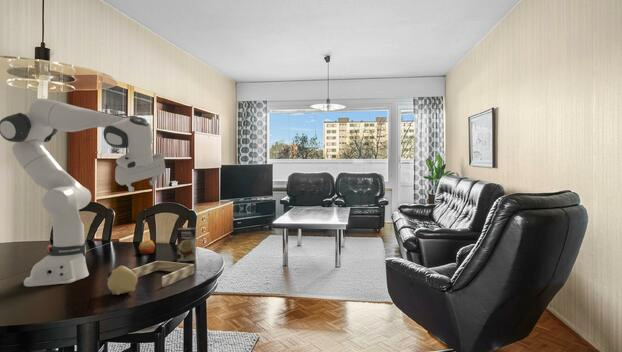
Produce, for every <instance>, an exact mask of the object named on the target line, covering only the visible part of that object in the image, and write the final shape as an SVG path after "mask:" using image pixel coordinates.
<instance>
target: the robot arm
mask: <svg viewBox="0 0 622 352" xmlns="http://www.w3.org/2000/svg"><path fill="white" fill-rule="evenodd" d="M151 125H152V124H151V123H150V121H148V119H145V118H143V117H141V116H140V117H139V116H137V115H129V116H123V115H119V114H114V113H109V112H105V111H99V110H94V109H90V108H85V107H80V106H77V105H73V104H69V103H65V102H61V101H58V100H54V99H46V98H39V99H35V100H34V101H33V102H32V103H31V105H30V106H29V111H28V112H25V113H23V112H18V113H13V114H10V115H8V116H5V117H3V118H1V119H0V135H1V137H2V138H3V139H4V140H6V141H8V142H12V143H14V144H13V145H12V147H11V150H12V153H13V155H14V158H15V159H16V160H17V162H18V163H19V165H20V167H22V169H23V170H24V172H26V173H27V175H28V176H29V178H31V180H32V181H33V182H34V183H35V184H36V185H37V186H39V187H41V188H43V189H44V190H45V191H47V192H46V193H45V194H44V195H43V197H42V199H41V201H42V202H41V203H42V206H43V208H44V209H45V210H46V211H47V213H48V215H49V217H50V221H51V224H52V235H53V236H52V237H53V239H52V240H53V241H52V242H53V243H52V244H51V245H47V246H46V250H47V253H46V254H47V255H46V256H44V258H42V259H41V260H40V261H38V262H36V263H35V264H34V265H33V267H32V268H31V271H30V274H29V275H30V276H28V277H26V278H25V279H24V280H23V286H25V287H38V286H39V287H40V286H50V285H59V284H71V283H73V282H76V281H79V280H81V279H85V278H86V277H88V276H89V275H90V273H89V270H88V266H87V262H86V254H87V245H86V242H85V224H84V223H83V222H82V219H81V216H80V210H82V209H84V208H86V207H87V206H88V205H89V204H90V203H91V201H92V193H91V191H90V190H89V189H88V188H86V187H85V186H84V185H82V184H81V183H80V182H78V181H77V179H75V178H74V177H73V176H71V174H69V173H68V172H67V171H66V170H64V168H63V167H62V166H61V165H60V164H59V162H58V161H57V160H56V159H55V158H54V157H53V156H52V154H51V153H50V152H49V151H48V150H47V148H46V147H45V144H44V143H48V142H50V141H51V140H52V137H54V136H55V135H56V134H57V132H58V131H62V132H68V133H69V132H70V133H76V132H80V131H85V130H87V129H88V130H89V129H93V128H104V129H103V135H102V136H103V139H104V141H105V143H106V144H107V145H109V146H110V147H112V148H116V149H127V150H128V151H127V153H125V154H124V155H122V156H120V157H118V158H116V160H115V162H116V164H117V166H116V167H115V170H114V171H115V172H114V177H115V182H116V183H117V184H118V185H120V186H125V185H126V187H128V191H129V192H130V193H132V192H134V191H135V186H132V183H135V182H139V181H140V182H141V181H142V180H146V179H150V178H151V180H149V185H150V186H151V187H153V186H155V185H156V181H157V179H158V177H159V176H161V175H164V174H165V172H166V163H165V155H164V154H162V153H156V154H155V153H153V146H152V144H153V131H152V126H151Z"/></svg>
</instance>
